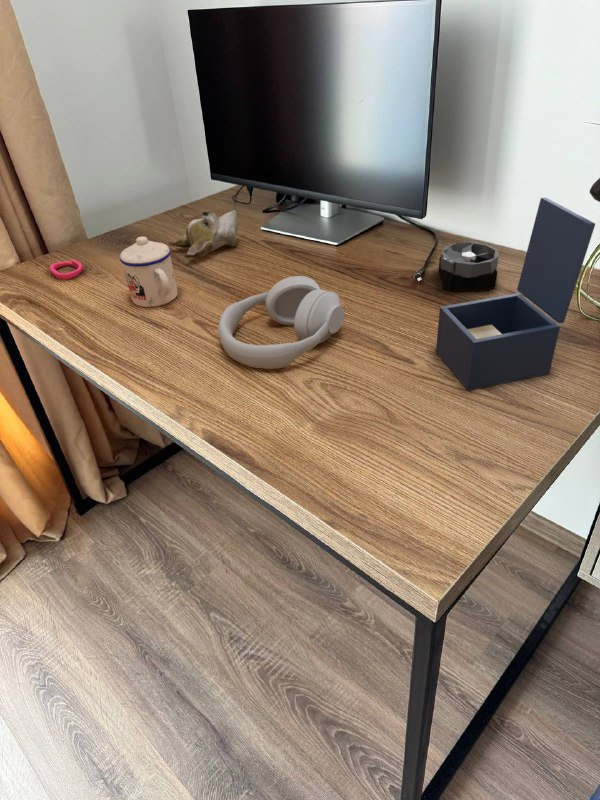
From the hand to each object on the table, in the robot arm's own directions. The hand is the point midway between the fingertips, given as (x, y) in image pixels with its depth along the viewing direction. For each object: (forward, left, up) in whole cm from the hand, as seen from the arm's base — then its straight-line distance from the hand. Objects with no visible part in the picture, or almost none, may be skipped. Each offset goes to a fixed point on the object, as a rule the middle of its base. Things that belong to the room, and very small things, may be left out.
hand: (595, 197), depth 75 cm
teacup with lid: (+58, -39, -23) cm, 74 cm away
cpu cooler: (+2, -26, -23) cm, 35 cm away
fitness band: (+76, -59, -23) cm, 99 cm away
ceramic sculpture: (+46, -59, -23) cm, 78 cm away
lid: (+5, 0, -8) cm, 9 cm away
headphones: (+39, -17, -23) cm, 49 cm away
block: (+13, 0, -22) cm, 25 cm away
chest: (+11, 0, -23) cm, 25 cm away
